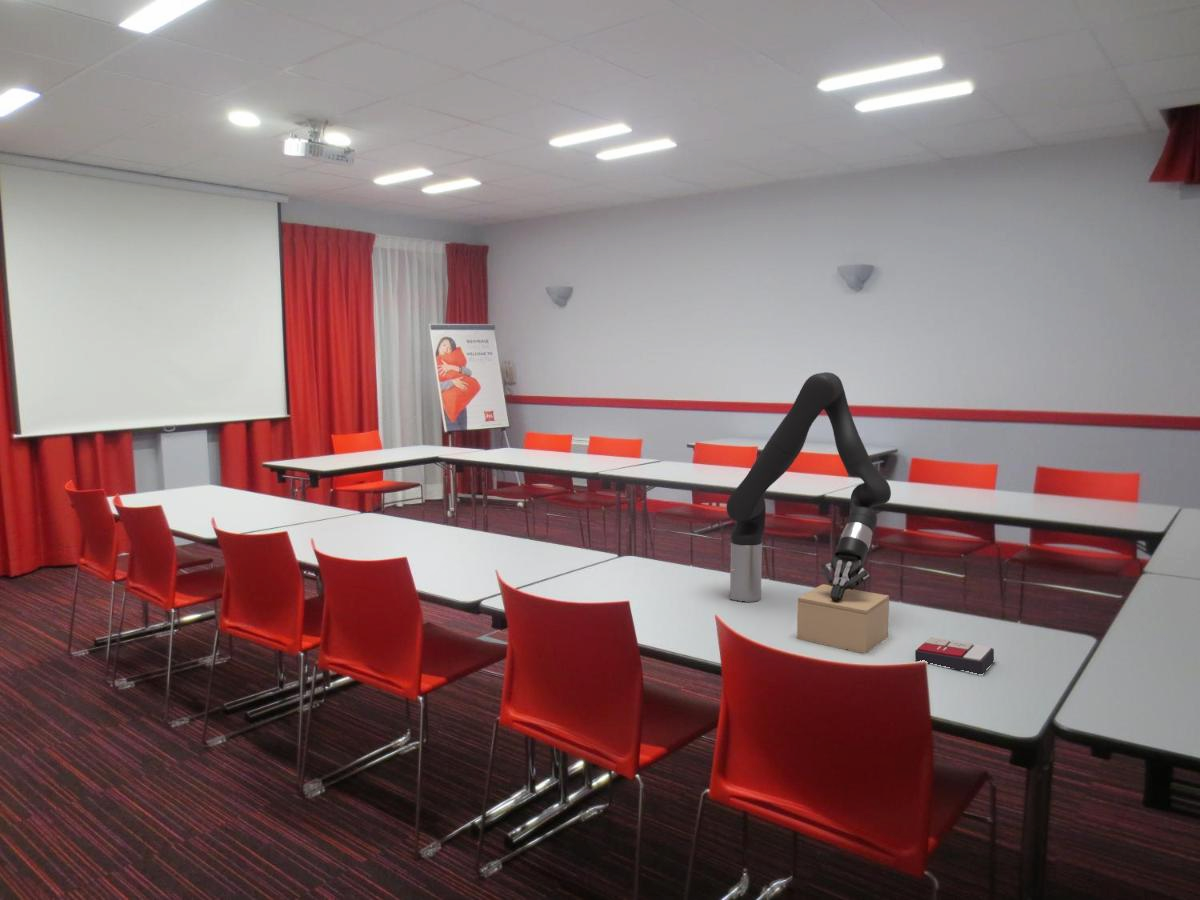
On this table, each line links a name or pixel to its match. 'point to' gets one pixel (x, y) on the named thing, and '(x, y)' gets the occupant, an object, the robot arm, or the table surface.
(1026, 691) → the table surface
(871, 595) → the lid
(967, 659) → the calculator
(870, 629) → the box
